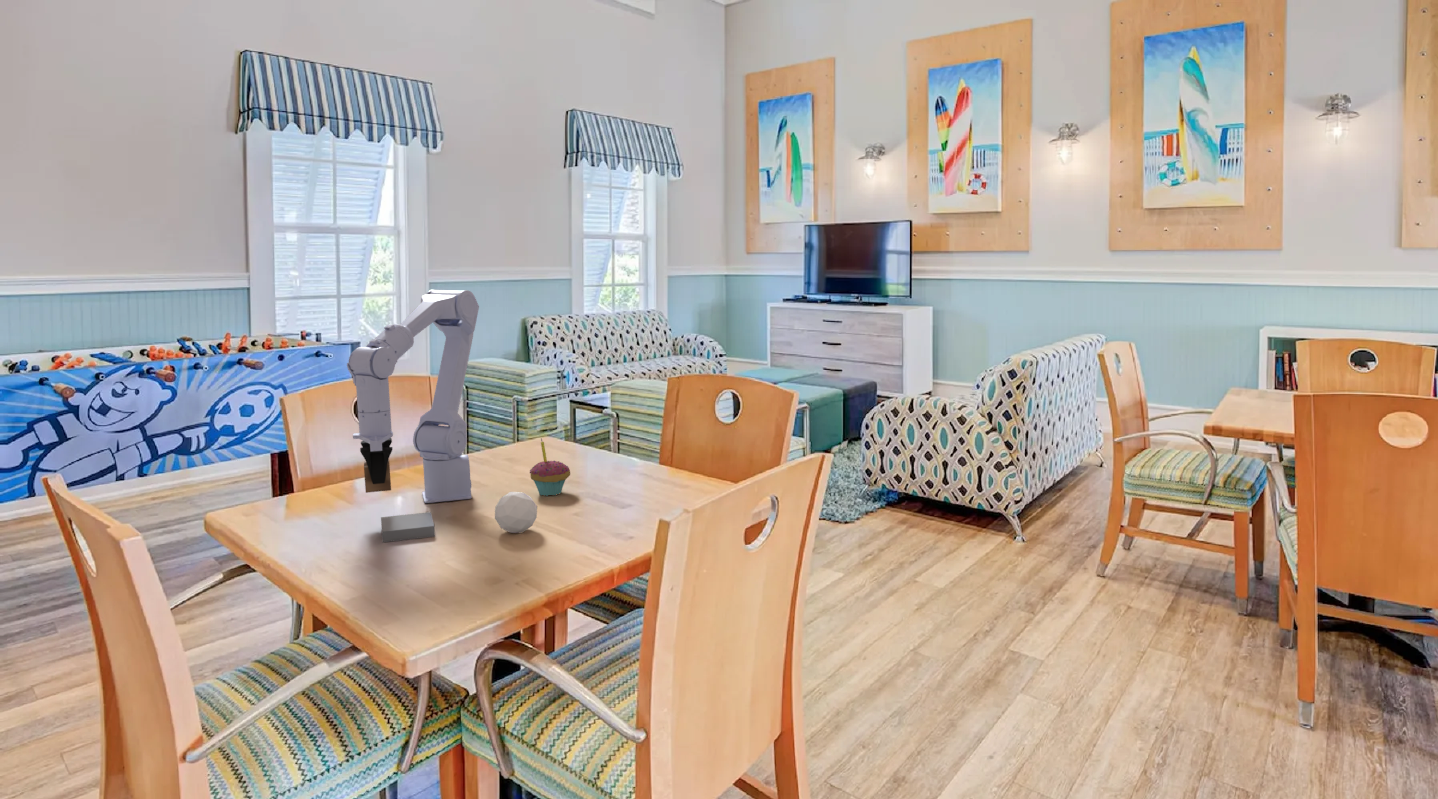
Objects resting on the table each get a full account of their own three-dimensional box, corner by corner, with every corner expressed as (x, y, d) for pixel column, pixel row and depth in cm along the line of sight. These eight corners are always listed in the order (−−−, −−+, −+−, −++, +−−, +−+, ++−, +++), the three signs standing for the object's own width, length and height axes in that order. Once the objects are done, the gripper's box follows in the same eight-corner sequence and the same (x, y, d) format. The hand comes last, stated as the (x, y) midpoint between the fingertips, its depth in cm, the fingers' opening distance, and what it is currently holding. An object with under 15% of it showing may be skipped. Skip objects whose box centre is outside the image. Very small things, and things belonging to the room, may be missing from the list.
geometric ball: (516, 541, 164) (524, 502, 167) (540, 535, 159) (549, 495, 162) (482, 529, 159) (491, 489, 163) (506, 523, 154) (516, 481, 158)
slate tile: (431, 521, 166) (430, 512, 166) (434, 536, 158) (434, 525, 158) (381, 527, 163) (380, 517, 163) (382, 542, 155) (381, 531, 155)
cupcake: (522, 495, 184) (520, 441, 182) (545, 485, 192) (543, 433, 190) (557, 500, 181) (555, 445, 179) (578, 490, 189) (577, 436, 187)
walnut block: (390, 484, 168) (389, 459, 167) (391, 490, 164) (389, 464, 163) (365, 486, 166) (364, 461, 165) (365, 492, 162) (363, 467, 161)
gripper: (352, 405, 168) (356, 472, 170) (350, 418, 154) (355, 491, 157) (390, 402, 170) (394, 469, 172) (392, 416, 157) (396, 488, 159)
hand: (378, 479), depth 165 cm, fingers closed on walnut block, 4 cm apart
